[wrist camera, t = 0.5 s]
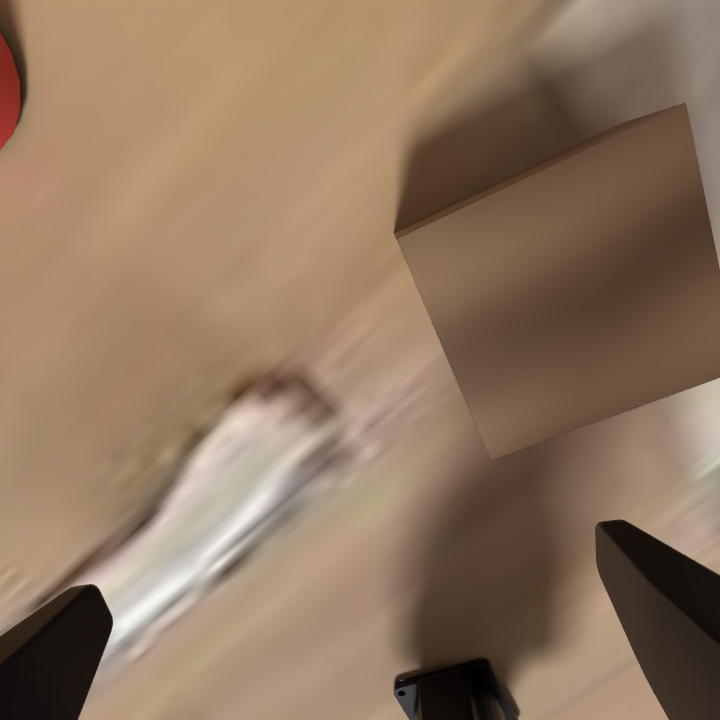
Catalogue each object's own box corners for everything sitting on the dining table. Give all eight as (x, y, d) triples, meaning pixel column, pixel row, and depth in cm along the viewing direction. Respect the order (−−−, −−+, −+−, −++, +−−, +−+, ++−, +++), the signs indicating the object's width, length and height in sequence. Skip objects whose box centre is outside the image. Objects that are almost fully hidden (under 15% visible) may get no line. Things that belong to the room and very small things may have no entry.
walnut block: (675, 339, 21) (740, 370, 17) (472, 416, 23) (490, 460, 19) (621, 123, 18) (685, 102, 14) (393, 231, 20) (396, 239, 16)
